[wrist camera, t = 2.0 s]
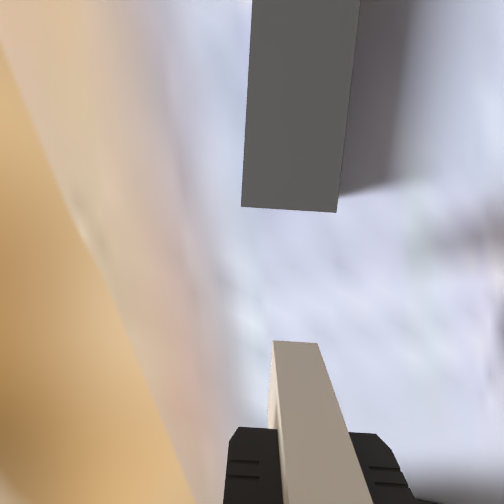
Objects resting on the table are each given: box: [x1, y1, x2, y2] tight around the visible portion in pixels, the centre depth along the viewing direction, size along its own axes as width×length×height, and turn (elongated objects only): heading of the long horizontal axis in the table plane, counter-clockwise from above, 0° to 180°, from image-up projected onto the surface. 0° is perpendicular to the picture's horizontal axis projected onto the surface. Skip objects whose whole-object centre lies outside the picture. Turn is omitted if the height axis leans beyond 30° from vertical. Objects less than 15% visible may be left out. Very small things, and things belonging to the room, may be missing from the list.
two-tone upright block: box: [241, 0, 361, 213], centre depth 18 cm, size 16×4×6 cm, turn 176°
